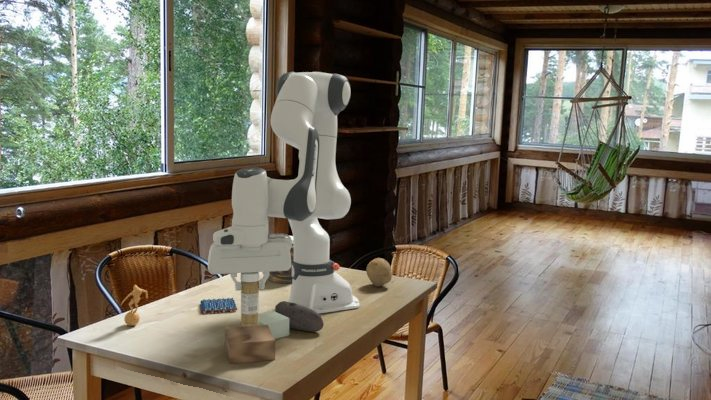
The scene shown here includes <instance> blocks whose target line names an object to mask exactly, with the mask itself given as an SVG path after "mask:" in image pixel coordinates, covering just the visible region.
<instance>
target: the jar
mask: <svg viewBox="0 0 711 400" xmlns="http://www.w3.org/2000/svg"><path fill="white" fill-rule="evenodd" d="M289 236H290V237H291V239H292V247H291V249H290V255H291V267H290V269H289V270H287V271H270V272H269V277H268V279H267V280H269V281H270V282H273V283H278V284H292V280H293V278H292V260H293V259H294V243H293V235H289ZM286 238H288V237H286Z"/></svg>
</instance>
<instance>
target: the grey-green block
mask: <svg viewBox="0 0 711 400" xmlns="http://www.w3.org/2000/svg"><path fill="white" fill-rule="evenodd" d="M258 321H259V324H258V325H257V326H259V325H268V327H269V329H270V331H271V333H272V335H273V337H274V339H275V340H276V339H281V338H284V337H288V336H290V328H289V318H288V317H286V316H283V315H281V314H279V313H277V312H275V310H269V311H265V312H261V313H260V312H259V313H258Z"/></svg>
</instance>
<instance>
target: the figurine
mask: <svg viewBox="0 0 711 400" xmlns="http://www.w3.org/2000/svg"><path fill="white" fill-rule="evenodd" d="M132 289H133V290H132V291H130V293H129V294H128V295H127V296H126V297H124V298H123V300H122V302H121V304H120V306H122V305H123V304H124V302H125V301H127V300H128V298H129V297H131V296H132V298H131V299H130V301H129V303H128V307H129V308H130V311H129V312H127V313H126V314H125V315H124V323H125V325H128V326H129V327H132V326H136V325H137V324H138V323H139V322H140V315H139V313H138V312H137V311H138V310H139V309H138V307H139V305H138V303H139V302H140V301H141V297H140V296H141V295H142V293H145V296H144V297H145V298H146V299H148V298H149V296H148V291H147V290H145V289H143V288H140V287H139V286H138V285H137V284H133V288H132ZM133 305H134V306H135V307H133ZM134 308H135V309H134Z"/></svg>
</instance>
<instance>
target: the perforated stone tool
mask: <svg viewBox="0 0 711 400" xmlns="http://www.w3.org/2000/svg"><path fill="white" fill-rule="evenodd" d="M274 311H275V312H277V313H279V314H281V315H283V316H286V317H288V318H289V329H292V330H293V329H294V330H296V331H297V330H298V331H303V332H311V333H313V332H319V331H322V329H323V327H324V320H323V318H322V316H321V314H318V313H317V312H315V311H313V310H312V309H310V308H307V307H305V306H302V305H298V304H296V303H291V302H288V301H284V300H283V301H280V302H278V303H277V304H275V308H274Z"/></svg>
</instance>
